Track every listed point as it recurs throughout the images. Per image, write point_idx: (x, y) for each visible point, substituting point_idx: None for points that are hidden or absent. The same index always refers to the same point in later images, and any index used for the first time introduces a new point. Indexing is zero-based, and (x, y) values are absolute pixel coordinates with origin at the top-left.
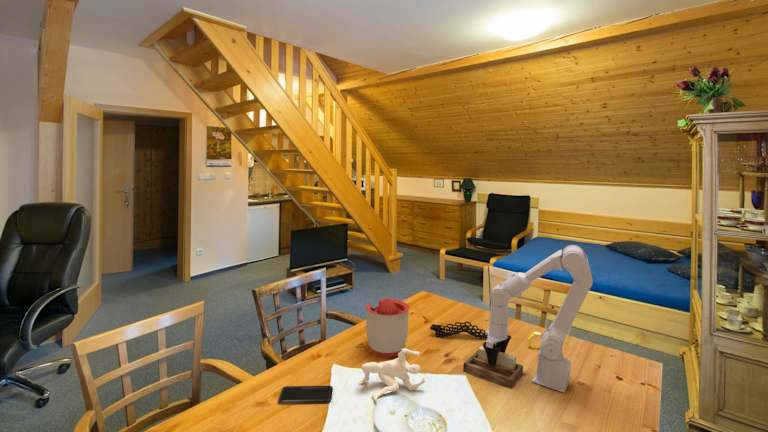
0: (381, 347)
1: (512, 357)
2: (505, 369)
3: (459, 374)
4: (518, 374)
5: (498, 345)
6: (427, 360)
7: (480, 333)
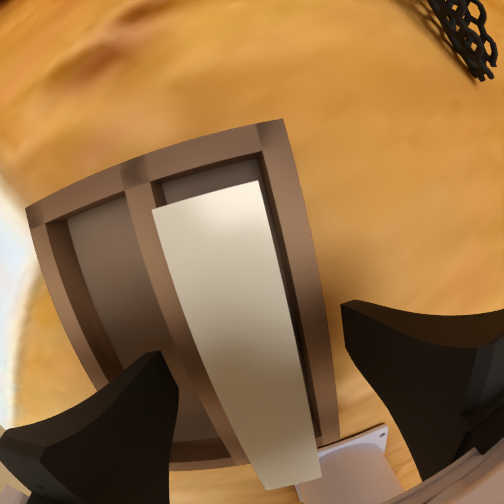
0: None
1: (289, 478)
2: (215, 428)
3: None
4: None
5: (391, 351)
6: (35, 33)
7: (474, 41)
